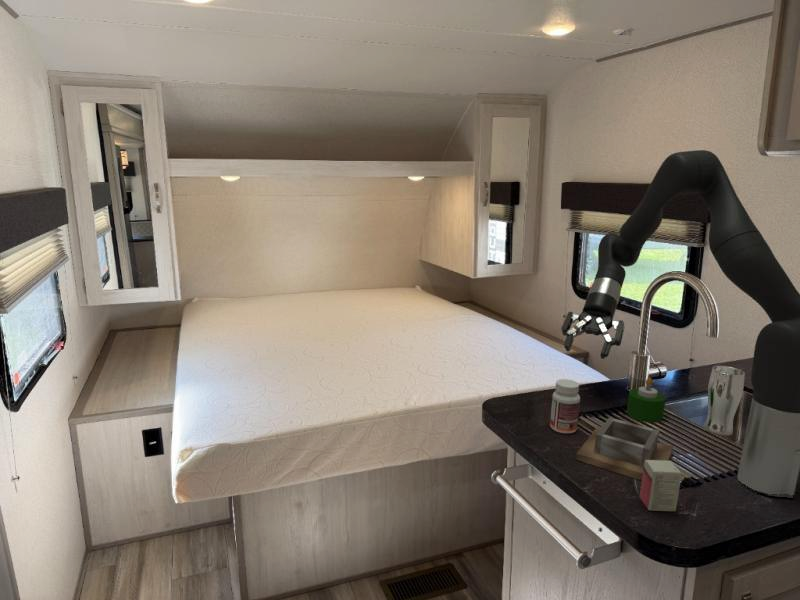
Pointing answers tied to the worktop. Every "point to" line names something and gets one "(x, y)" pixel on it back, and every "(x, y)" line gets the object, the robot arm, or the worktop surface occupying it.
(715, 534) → the worktop surface
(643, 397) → the candle
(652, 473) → the small box
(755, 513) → the worktop surface
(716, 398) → the beer glass
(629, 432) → the holder
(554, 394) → the pill bottle
